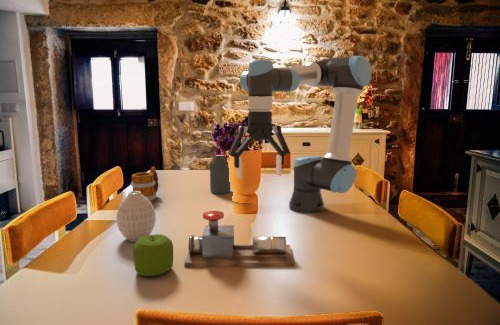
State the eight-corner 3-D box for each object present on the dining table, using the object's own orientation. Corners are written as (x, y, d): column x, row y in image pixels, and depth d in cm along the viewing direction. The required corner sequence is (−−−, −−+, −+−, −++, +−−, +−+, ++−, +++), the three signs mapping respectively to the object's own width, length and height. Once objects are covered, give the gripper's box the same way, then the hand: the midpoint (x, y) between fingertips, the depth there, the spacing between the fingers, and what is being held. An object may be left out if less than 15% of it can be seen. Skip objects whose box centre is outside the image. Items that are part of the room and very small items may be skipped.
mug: (126, 203, 169) (124, 171, 166) (148, 194, 184) (147, 164, 181) (145, 205, 165) (144, 173, 162) (167, 196, 180) (165, 166, 177)
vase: (121, 248, 119) (117, 199, 116) (115, 235, 130) (112, 190, 127) (160, 241, 125) (158, 194, 122) (152, 229, 136) (149, 185, 133)
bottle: (233, 192, 186) (233, 133, 181) (217, 195, 181) (216, 135, 175) (223, 188, 195) (222, 131, 189) (207, 191, 189) (205, 133, 184)
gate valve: (234, 247, 117) (233, 209, 115) (232, 260, 109) (232, 219, 106) (192, 247, 117) (191, 209, 115) (188, 260, 109) (186, 219, 106)
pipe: (284, 249, 116) (284, 233, 115) (286, 256, 111) (286, 240, 110) (252, 249, 116) (252, 233, 115) (252, 256, 111) (253, 240, 110)
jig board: (289, 248, 120) (289, 241, 119) (294, 266, 107) (294, 259, 107) (191, 248, 120) (191, 241, 119) (184, 266, 107) (184, 259, 107)
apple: (153, 285, 97) (151, 246, 95) (125, 274, 102) (123, 237, 100) (182, 268, 106) (180, 232, 104) (155, 259, 111) (153, 225, 109)
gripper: (291, 109, 123) (289, 171, 127) (218, 110, 115) (219, 176, 119) (301, 110, 116) (299, 176, 120) (224, 111, 108) (225, 181, 112)
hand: (259, 176), depth 120 cm, fingers open, 13 cm apart
